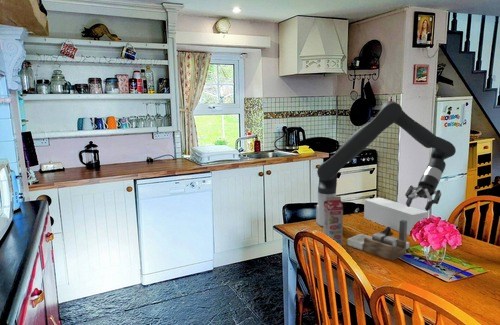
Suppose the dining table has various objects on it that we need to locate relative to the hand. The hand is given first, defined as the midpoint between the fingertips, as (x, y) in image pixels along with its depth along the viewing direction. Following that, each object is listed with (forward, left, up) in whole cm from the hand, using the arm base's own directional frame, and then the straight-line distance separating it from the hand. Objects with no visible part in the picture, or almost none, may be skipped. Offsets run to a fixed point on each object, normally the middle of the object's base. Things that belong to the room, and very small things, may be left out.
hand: (416, 207), depth 161 cm
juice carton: (-23, -29, -16) cm, 41 cm away
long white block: (-19, +15, -17) cm, 30 cm away
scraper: (0, -11, -16) cm, 20 cm away
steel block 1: (-5, -20, -13) cm, 25 cm away
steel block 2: (0, -20, -13) cm, 24 cm away
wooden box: (-3, -20, -16) cm, 26 cm away
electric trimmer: (-13, -3, -17) cm, 22 cm away
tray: (-14, -20, -16) cm, 30 cm away
